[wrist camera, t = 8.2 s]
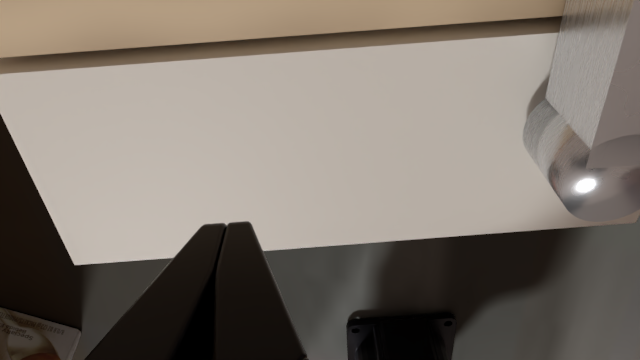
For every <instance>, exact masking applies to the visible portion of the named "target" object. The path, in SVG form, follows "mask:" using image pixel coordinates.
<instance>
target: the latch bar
mask: <svg viewBox="0 0 640 360" xmlns="http://www.w3.org/2000/svg"><path fill="white" fill-rule="evenodd" d="M523 143H524V146H525V149H526V150H527V152H528V153H529V155H530V156H531V158H532V159H533V161H534V162H535V164H536V165H537V167H538V168H539V170H540V171H541V172H542V174H543V175H544V177H545V178H546V180H547V181H548V183H549V184H550V186H551V187H552V189H553V190H554V191H555V193H556V194H557V196H558V197H559V199H560V200H561V202H562V203H563V205H564V206H565V207H566V209H567V210H568V211H569V212H570V213H571V214H572V215H573V216H575V217H577V218H579V219H582V220H585V221H592V222H604V221H611V220H615V219H619V218H622V217H625V216H627V215H630V214H632V213H634V212H636V211H638V210H639V209H640V0H566V2H565V7H564V12H563V16H562V21H561V26H560V30H559V35H558V40H557V45H556V49H555V54H554V59H553V63H552V68H551V73H550V78H549V82H548V87H547V92H546V96H545V99H543V100H542V101H541V102H540V103H539V104H538V105H537V106H536V107H535V108H534V109H533V111H532V112H531V113H530V115H529V117H528V118H527V120H526V123H525V126H524V129H523Z"/></svg>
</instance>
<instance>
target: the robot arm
mask: <svg viewBox="0 0 640 360" xmlns="http://www.w3.org/2000/svg"><path fill="white" fill-rule="evenodd" d="M456 324H457V322H456V319H455V316H454V315H453V314H452V313H438V314H425V315H412V316H399V317H386V318H373V319H359V320H352V321H350V322H348V323H347V326H346V328H347V350H348V360H451V356H452V349H453V343H454V336H455V330H456ZM84 360H309V359H307V354H306V352H305V350H304V347H303V345H302V343H301V340H300V338H299V335H298V333H297V331H296V328H295V326H294V324H293V321H292V319H291V316H290V314H289V312H288V309H287V307H286V305H285V302H284V300H283V297H282V295H281V293H280V290H279V288H278V286H277V283H276V281H275V278H274V276H273V274H272V271H271V269H270V267H269V264H268V262H267V259H266V257H265V255H264V252H263V250H262V248H261V245H260V243H259V240H258V238H257V236H256V233H255V231H254V229H253V226H252V224H251V223H250V222H249V221H243V222H230V223H229V224H227V225H226V224H225V223H213V224H204V225H202V226H201V227H200V228H199V229H198V230H197V232H196V233H195V234H194V235H193V236H192V237H191V238H190V240H189V241H188V242H187V243H186V244H185V245H184V246H183V248H182V249H181V250H180V251H179V252H178V253H177V254H176V256H175V257H174V258H173V259H172V260H171V261H170V262H169V264H168V265H167V266H166V267H165V268H164V269H163V270H162V272H161V273H160V274H159V275H158V276H157V277H156V278H155V280H154V281H153V282H152V283H151V284H150V285H149V286H148V288H147V289H146V290H145V291H144V292H143V293H142V294H141V296H140V297H139V298H138V299H137V300H136V301H135V302H134V303H133V305H132V306H131V307H130V308H129V309H128V310H127V311H126V313H125V314H124V315H123V316H122V317H121V318H120V319H119V321H118V322H117V323H116V324H115V325H114V326H113V327H112V329H111V330H110V331H109V332H108V333H107V334H106V335H105V337H104V338H103V339H102V340H101V341H100V342H99V343H98V345H97V346H96V347H95V348H94V349H93V350H92V351H91V353H90V354H89V355H88V356H87V357H86V358H85V359H84Z"/></svg>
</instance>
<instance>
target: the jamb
mask: <svg viewBox="0 0 640 360" xmlns="http://www.w3.org/2000/svg"><path fill="white" fill-rule="evenodd" d="M561 21H562V16H554V17H540V18H527V19H514V20H500V21H487V22H473V23H460V24H446V25H433V26H420V27H406V28H393V29H379V30H366V31H352V32H339V33H325V34H312V35H299V36H285V37H272V38H258V39H245V40H231V41H218V42H205V43H191V44H178V45H164V46H151V47H137V48H124V49H111V50H97V51H84V52H70V53H57V54H43V55H30V56H16V57H3V58H1V59H0V114H1V116H2V118H3V120H4V122H5V124H6V126H7V128H8V130H9V132H10V134H11V136H12V138H13V140H14V143H15V145H16V147H17V149H18V151H19V153H20V155H21V157H22V159H23V161H24V163H25V165H26V167H27V169H28V171H29V173H30V175H31V177H32V179H33V181H34V183H35V185H36V188H37V190H38V192H39V194H40V196H41V198H42V200H43V202H44V204H45V206H46V208H47V210H48V212H49V214H50V216H51V218H52V220H53V222H54V224H55V226H56V228H57V230H58V233H59V235H60V237H61V239H62V241H63V243H64V245H65V247H66V249H67V251H68V253H69V255H70V257H71V259H72V261H73V263H74V265H84V264H97V263H110V262H123V261H137V260H150V259H163V258H174V257H175V256H176V254H177V253H178V252H179V251H180V250H181V249H182V248H183V246H184V245H185V244H186V243H187V242H188V241H189V240H190V238H191V237H192V236H193V235H194V234H195V233H196V232H197V230H198V229H199V228H200V227H201V226H202V225H204V224H213V223H225V224H226V225H227V224H229V223H230V222H243V221H249V222H250V223H251V224H252V226H253V229H254V231H255V233H256V236H257V238H258V240H259V243H260V245H261V248H262V250H263V251H269V250H282V249H295V248H308V247H321V246H335V245H348V244H361V243H374V242H387V241H401V240H414V239H427V238H440V237H453V236H467V235H480V234H493V233H506V232H519V231H533V230H546V229H559V228H572V227H585V226H599V225H612V224H625V223H636V221H637V219H638V216H639V214H640V209H639V210H638V211H636V212H634V213H632V214H630V215H627V216H625V217H622V218H619V219H615V220H611V221H604V222H592V221H585V220H582V219H579V218H577V217H575V216H573V215H572V214H571V213H570V212H569V211H568V210H567V209H566V207H565V206H564V205H563V203H562V202H561V200H560V199H559V197H558V196H557V194H556V193H555V191H554V190H553V189H552V187H551V186H550V184H549V183H548V181H547V180H546V178H545V177H544V175H543V174H542V172H541V171H540V170H539V168H538V167H537V165H536V164H535V162H534V161H533V159H532V158H531V156H530V155H529V153H528V152H527V150H526V149H525V146H524V143H523V129H524V126H525V123H526V120H527V118H528V117H529V115H530V113H531V112H532V111H533V109H534V108H535V107H536V106H537V105H538V104H539V103H540V102H541V101H542V100H543V99H545V96H546V92H547V87H548V82H549V78H550V73H551V68H552V63H553V59H554V54H555V49H556V45H557V40H558V35H559V30H560V26H561Z"/></svg>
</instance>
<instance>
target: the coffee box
mask: <svg viewBox="0 0 640 360" xmlns="http://www.w3.org/2000/svg"><path fill="white" fill-rule="evenodd" d="M80 335H81V332H80V331H79V330H78V329H75V328H72V327H68V326H65V325H61V324H58V323H54V322H51V321H47V320H44V319H40V318H37V317H33V316H30V315H26V314H23V313H19V312H15V311H12V310H8V309H5V308H1V307H0V360H71V359H72V357H73V354H74V352H75V350H76V347H77V344H78V342H79V338H80Z"/></svg>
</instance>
